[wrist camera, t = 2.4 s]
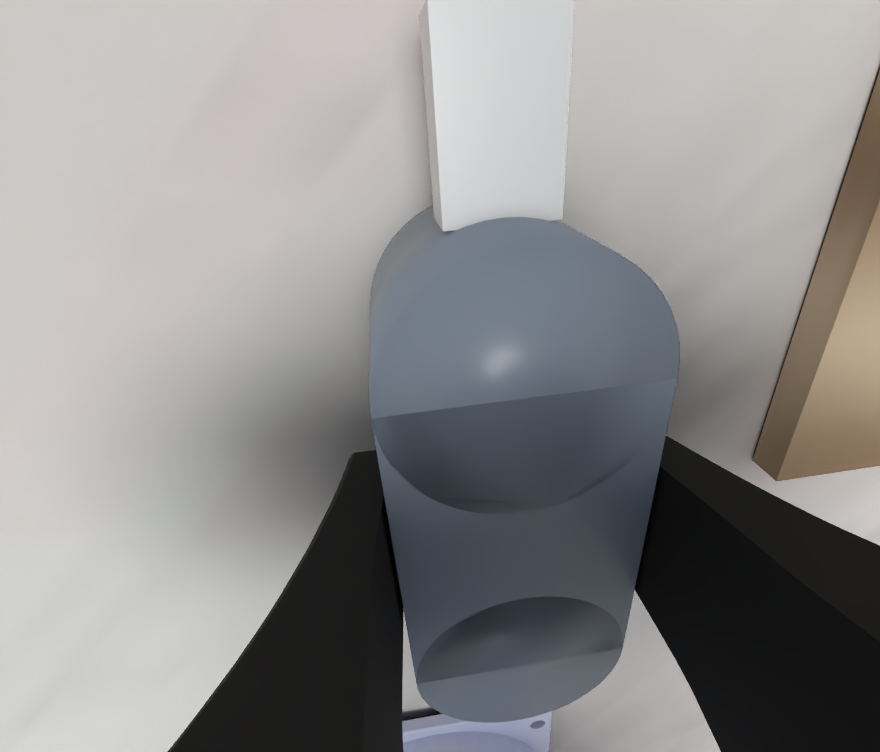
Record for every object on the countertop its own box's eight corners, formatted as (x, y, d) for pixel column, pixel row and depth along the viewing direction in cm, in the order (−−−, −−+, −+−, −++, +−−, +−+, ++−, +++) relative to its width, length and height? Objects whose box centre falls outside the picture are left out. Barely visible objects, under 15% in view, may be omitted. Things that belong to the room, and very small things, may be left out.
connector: (555, 566, 13) (610, 702, 10) (413, 589, 13) (425, 737, 10) (595, 19, 7) (765, -57, 4) (328, 38, 7) (292, -31, 4)
